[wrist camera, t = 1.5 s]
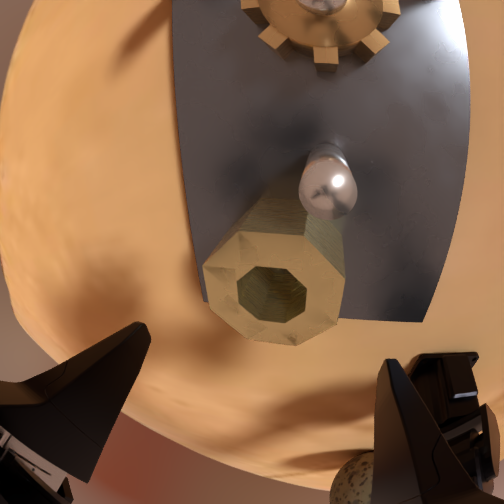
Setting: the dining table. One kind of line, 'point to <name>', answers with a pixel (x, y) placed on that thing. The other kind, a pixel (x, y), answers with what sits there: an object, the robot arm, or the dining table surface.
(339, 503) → the decorative egg
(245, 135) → the carrier
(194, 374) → the dining table surface
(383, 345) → the dining table surface
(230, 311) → the hollow octagonal tube
